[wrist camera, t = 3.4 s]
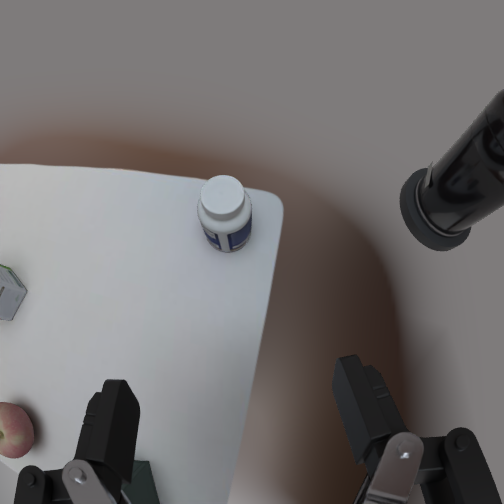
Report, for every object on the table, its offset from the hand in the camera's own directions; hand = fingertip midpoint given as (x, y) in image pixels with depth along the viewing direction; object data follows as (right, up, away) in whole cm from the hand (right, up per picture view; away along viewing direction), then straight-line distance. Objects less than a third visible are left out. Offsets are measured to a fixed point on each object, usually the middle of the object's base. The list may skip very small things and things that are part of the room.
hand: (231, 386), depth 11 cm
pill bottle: (-2, +7, +26) cm, 27 cm away
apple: (-31, -19, +18) cm, 40 cm away
